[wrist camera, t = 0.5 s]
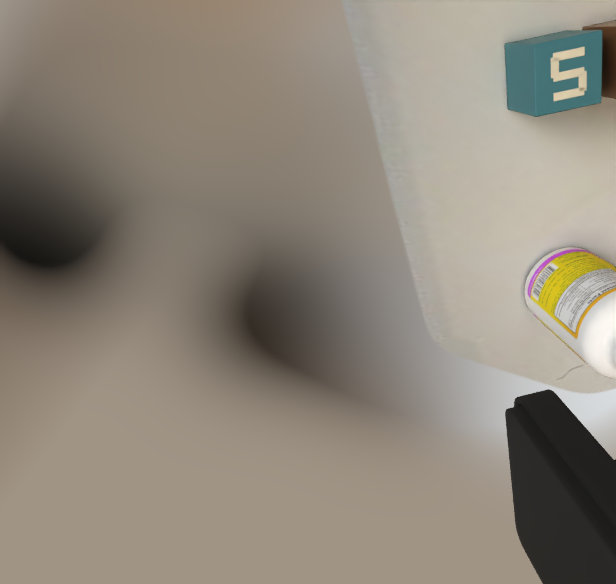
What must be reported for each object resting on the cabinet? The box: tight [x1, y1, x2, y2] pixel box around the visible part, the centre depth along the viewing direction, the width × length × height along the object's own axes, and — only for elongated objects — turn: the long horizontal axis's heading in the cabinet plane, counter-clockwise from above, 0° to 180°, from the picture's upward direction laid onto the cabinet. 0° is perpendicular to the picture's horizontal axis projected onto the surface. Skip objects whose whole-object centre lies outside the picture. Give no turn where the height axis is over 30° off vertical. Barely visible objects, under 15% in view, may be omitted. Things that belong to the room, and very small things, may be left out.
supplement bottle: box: [525, 247, 616, 378], centre depth 42 cm, size 7×7×13 cm
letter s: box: [505, 30, 602, 117], centre depth 39 cm, size 4×4×4 cm
